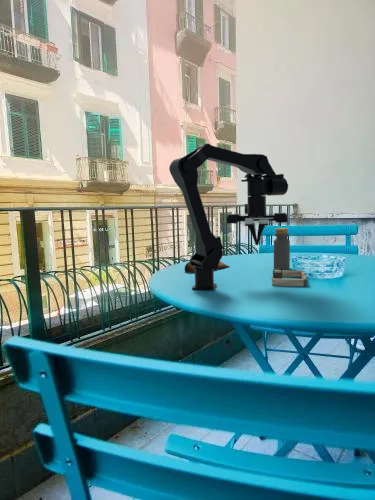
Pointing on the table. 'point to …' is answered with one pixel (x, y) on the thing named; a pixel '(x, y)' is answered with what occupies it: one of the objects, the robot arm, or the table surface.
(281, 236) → the bottle
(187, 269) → the sweet potato
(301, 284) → the display frame
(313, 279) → the table surface
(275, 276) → the strap clip
